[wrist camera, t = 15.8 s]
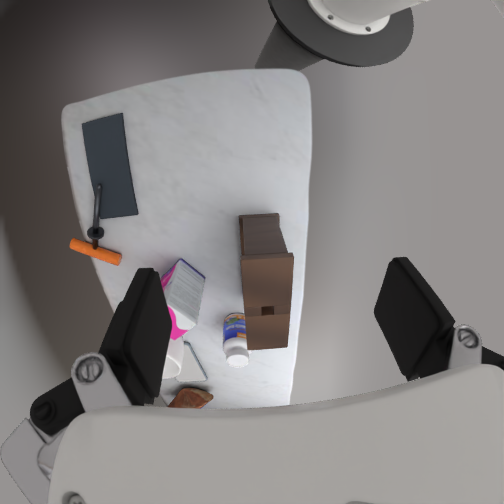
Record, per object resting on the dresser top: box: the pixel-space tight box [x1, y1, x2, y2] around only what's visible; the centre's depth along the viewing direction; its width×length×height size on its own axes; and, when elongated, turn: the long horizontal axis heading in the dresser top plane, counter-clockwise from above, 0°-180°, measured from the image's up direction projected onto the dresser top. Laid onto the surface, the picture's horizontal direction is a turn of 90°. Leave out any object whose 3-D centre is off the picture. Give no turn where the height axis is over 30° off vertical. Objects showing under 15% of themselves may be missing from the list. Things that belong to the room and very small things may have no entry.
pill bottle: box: [223, 313, 252, 367], centre depth 48 cm, size 5×5×10 cm
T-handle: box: [70, 183, 122, 266], centre depth 38 cm, size 10×3×14 cm
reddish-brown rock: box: [168, 388, 213, 409], centre depth 63 cm, size 13×8×10 cm
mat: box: [82, 113, 138, 219], centre depth 35 cm, size 16×7×1 cm, turn 2°
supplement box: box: [161, 259, 205, 340], centre depth 41 cm, size 6×6×12 cm
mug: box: [162, 336, 184, 379], centre depth 47 cm, size 12×8×11 cm
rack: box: [239, 214, 294, 350], centre depth 40 cm, size 16×6×12 cm, turn 2°
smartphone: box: [175, 342, 207, 382], centre depth 58 cm, size 8×1×15 cm
